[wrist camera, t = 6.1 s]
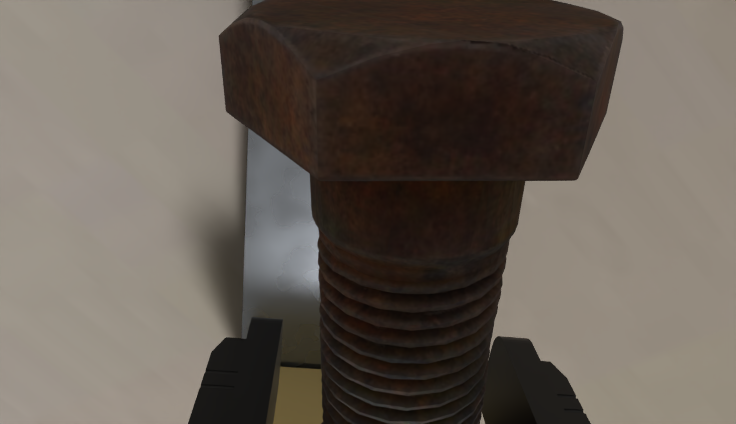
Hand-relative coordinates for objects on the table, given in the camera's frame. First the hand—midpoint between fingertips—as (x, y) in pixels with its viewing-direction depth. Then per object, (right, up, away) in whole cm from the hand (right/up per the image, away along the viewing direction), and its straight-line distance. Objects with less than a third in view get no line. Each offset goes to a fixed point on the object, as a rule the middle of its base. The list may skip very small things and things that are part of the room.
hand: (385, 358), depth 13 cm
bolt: (0, +1, 0) cm, 1 cm away
